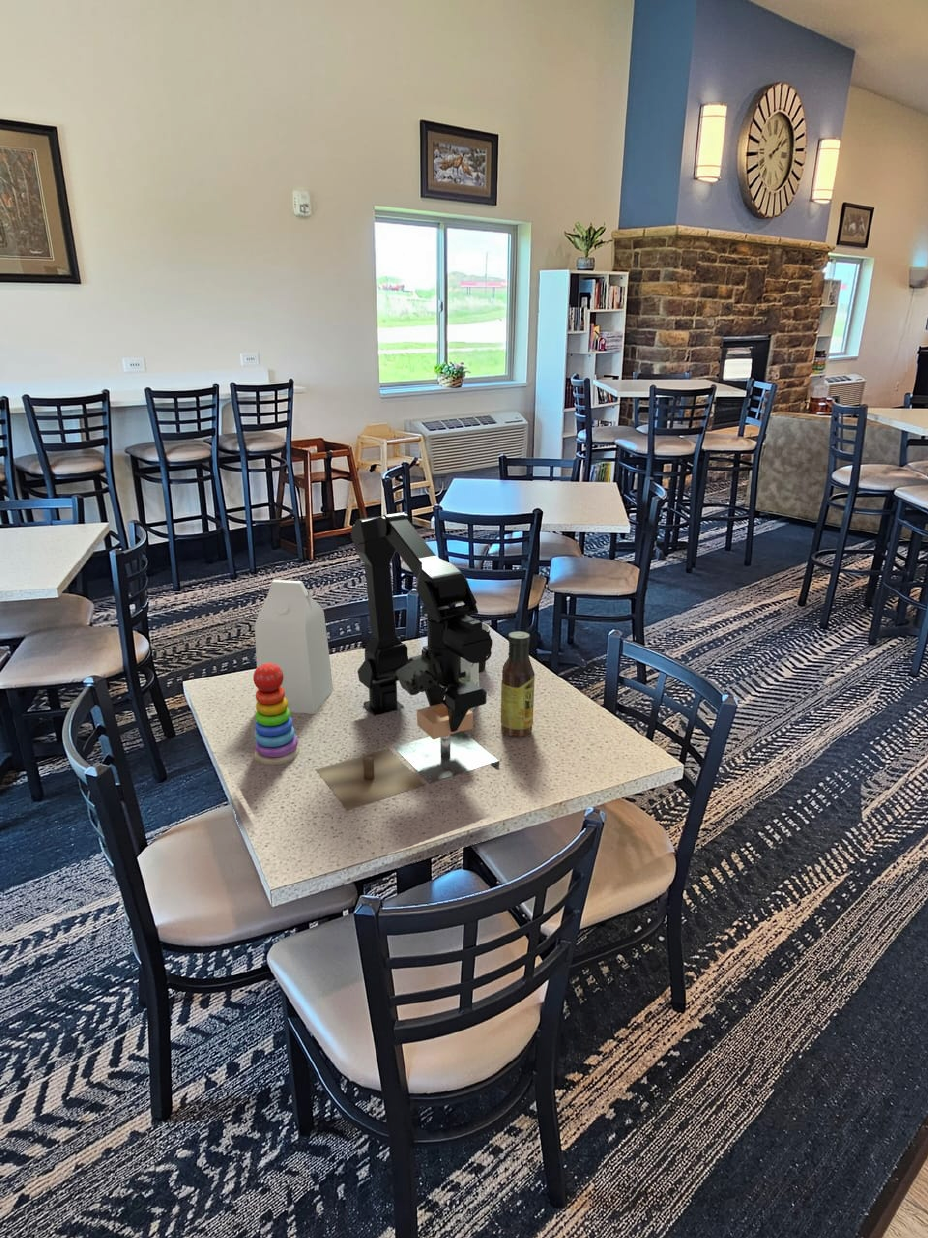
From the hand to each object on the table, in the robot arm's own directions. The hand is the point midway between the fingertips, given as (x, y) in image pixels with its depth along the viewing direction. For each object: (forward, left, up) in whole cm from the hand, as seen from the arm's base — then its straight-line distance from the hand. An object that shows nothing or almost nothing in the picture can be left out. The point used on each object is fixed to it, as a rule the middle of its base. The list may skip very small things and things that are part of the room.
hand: (444, 723), depth 134 cm
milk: (-37, -15, -7) cm, 41 cm away
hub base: (0, 0, -7) cm, 7 cm away
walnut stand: (0, -15, -7) cm, 17 cm away
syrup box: (-16, +13, -7) cm, 22 cm away
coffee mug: (-30, +24, -7) cm, 39 cm away
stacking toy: (-16, -26, -7) cm, 31 cm away
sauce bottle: (-2, +17, -7) cm, 19 cm away
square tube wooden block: (0, 0, 0) cm, 0 cm away
